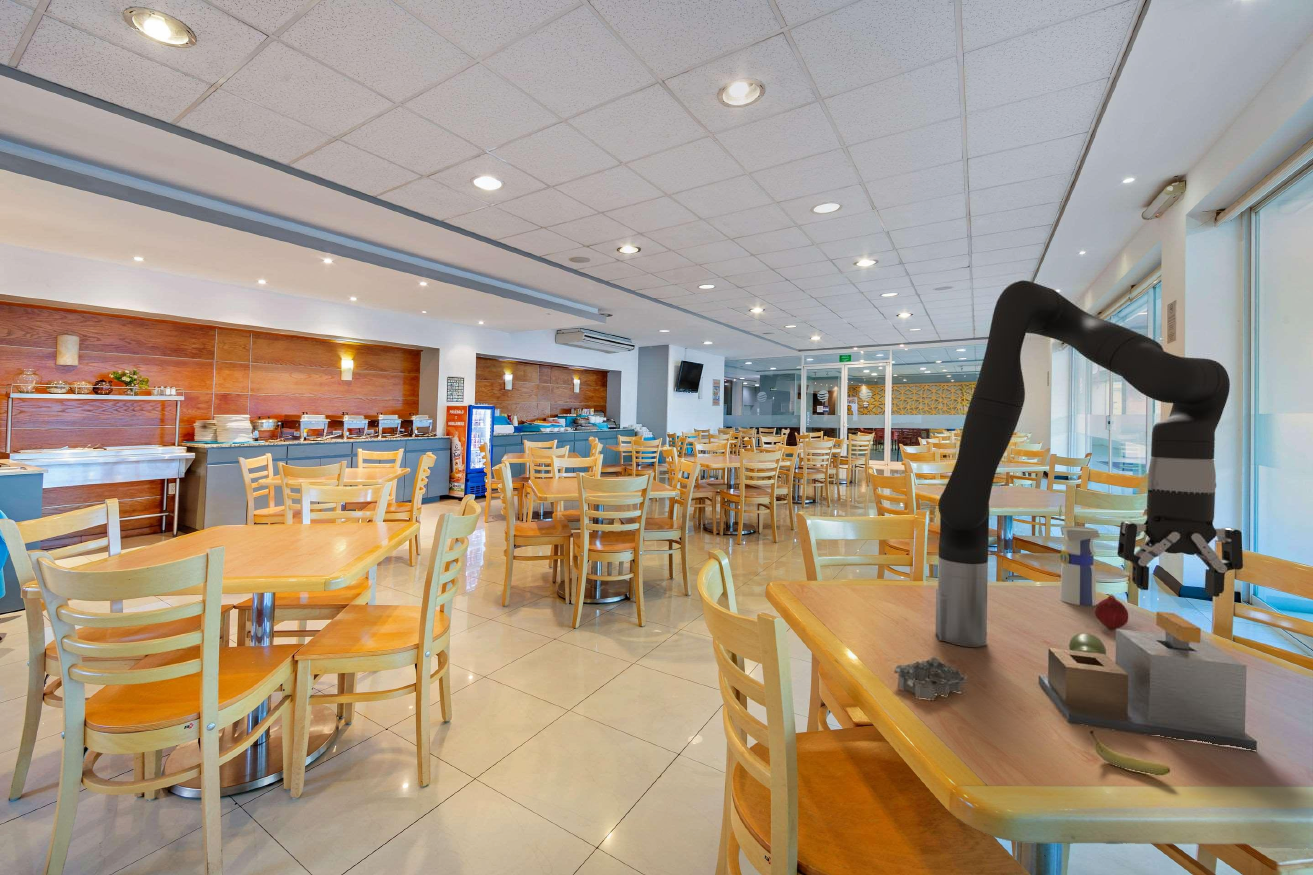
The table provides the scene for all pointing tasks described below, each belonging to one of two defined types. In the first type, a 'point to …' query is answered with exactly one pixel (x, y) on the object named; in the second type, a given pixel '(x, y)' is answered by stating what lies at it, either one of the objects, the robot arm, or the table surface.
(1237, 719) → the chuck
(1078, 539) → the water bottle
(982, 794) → the table surface
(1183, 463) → the robot arm
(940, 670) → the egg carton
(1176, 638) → the key
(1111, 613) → the onion
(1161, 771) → the banana
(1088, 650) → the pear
